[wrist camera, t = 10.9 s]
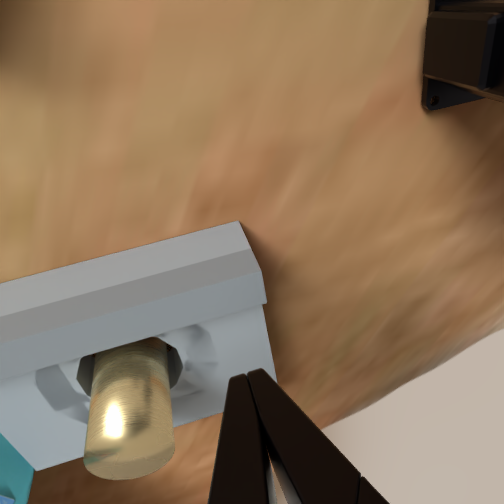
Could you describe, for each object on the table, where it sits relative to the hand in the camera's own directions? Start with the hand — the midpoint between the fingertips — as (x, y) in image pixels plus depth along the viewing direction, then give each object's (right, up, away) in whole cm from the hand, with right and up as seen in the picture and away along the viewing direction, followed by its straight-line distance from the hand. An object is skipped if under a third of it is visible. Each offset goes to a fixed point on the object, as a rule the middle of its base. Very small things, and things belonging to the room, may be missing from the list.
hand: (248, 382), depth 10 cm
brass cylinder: (-7, -2, +15) cm, 17 cm away
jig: (-7, -2, +15) cm, 17 cm away
